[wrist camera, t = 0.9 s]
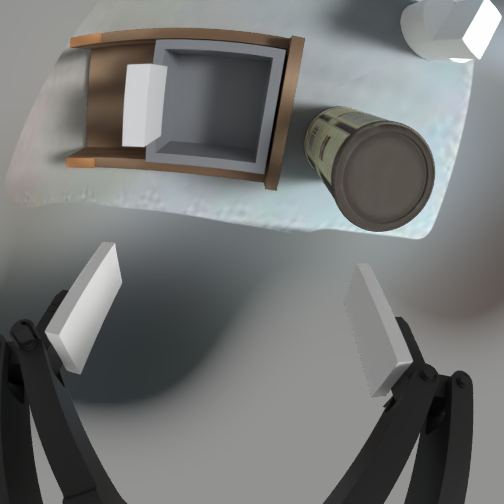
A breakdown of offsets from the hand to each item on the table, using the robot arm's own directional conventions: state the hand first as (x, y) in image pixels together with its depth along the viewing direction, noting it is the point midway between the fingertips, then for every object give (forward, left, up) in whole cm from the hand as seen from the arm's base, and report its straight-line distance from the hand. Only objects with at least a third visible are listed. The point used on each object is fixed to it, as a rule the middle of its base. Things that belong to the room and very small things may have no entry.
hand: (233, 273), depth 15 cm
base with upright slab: (-24, +21, -24) cm, 40 cm away
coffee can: (-4, +12, -24) cm, 27 cm away
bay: (-7, -9, -24) cm, 27 cm away
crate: (-7, -4, -22) cm, 24 cm away
